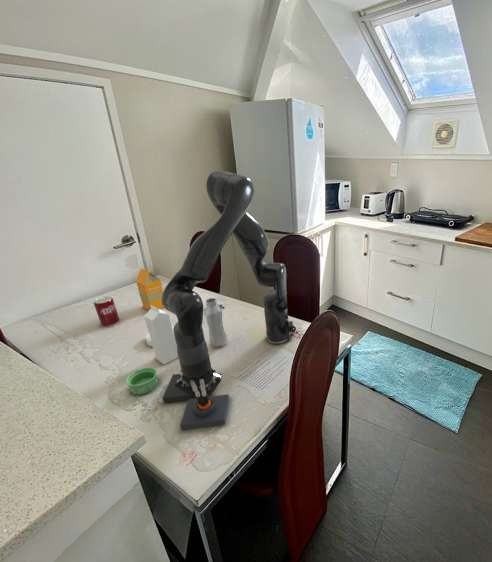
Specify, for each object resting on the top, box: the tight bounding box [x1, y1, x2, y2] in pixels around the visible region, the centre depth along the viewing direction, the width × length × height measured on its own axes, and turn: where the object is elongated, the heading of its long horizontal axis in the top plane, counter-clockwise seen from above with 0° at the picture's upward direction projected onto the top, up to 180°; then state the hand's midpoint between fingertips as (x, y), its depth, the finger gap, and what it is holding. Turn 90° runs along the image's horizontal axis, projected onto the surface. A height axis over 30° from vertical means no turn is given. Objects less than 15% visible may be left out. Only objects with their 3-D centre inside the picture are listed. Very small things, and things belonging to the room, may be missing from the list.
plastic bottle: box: [203, 297, 228, 347], centre depth 123 cm, size 6×7×20 cm
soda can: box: [93, 296, 120, 328], centre depth 140 cm, size 7×7×12 cm
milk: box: [143, 305, 179, 365], centre depth 114 cm, size 6×6×22 cm
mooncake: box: [144, 325, 174, 348], centre depth 130 cm, size 12×12×4 cm
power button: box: [198, 400, 212, 410], centre depth 92 cm, size 4×4×2 cm
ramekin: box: [125, 366, 159, 395], centre depth 104 cm, size 9×9×4 cm
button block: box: [179, 393, 230, 431], centre depth 93 cm, size 12×10×4 cm
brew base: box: [162, 369, 217, 405], centre depth 103 cm, size 14×11×3 cm
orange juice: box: [135, 268, 165, 311], centre depth 153 cm, size 8×9×20 cm
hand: (204, 403), depth 92 cm, fingers closed
